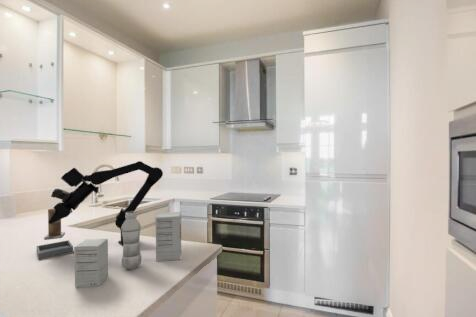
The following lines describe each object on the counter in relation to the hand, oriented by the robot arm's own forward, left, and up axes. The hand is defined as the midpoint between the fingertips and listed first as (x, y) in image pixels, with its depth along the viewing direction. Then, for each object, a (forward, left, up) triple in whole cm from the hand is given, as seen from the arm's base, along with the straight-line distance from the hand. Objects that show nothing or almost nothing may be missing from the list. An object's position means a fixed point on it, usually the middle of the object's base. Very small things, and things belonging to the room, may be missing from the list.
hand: (50, 221), depth 109 cm
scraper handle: (0, -1, -7) cm, 7 cm away
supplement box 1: (-42, -7, -13) cm, 44 cm away
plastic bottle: (-40, -20, -13) cm, 46 cm away
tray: (-1, -1, -13) cm, 13 cm away
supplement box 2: (-39, -35, -13) cm, 54 cm away
